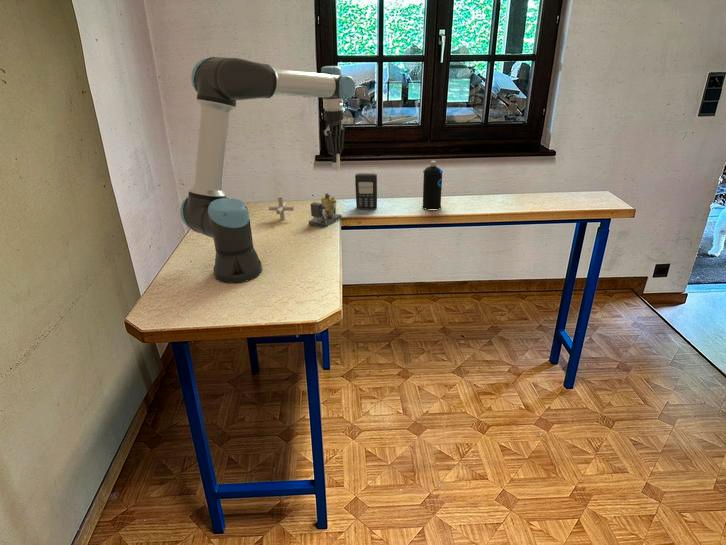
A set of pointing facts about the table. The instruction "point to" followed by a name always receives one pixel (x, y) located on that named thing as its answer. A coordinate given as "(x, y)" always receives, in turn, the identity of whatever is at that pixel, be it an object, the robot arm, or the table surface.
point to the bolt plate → (337, 216)
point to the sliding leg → (329, 203)
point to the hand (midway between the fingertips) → (336, 169)
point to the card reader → (366, 190)
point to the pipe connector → (281, 208)
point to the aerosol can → (432, 187)
